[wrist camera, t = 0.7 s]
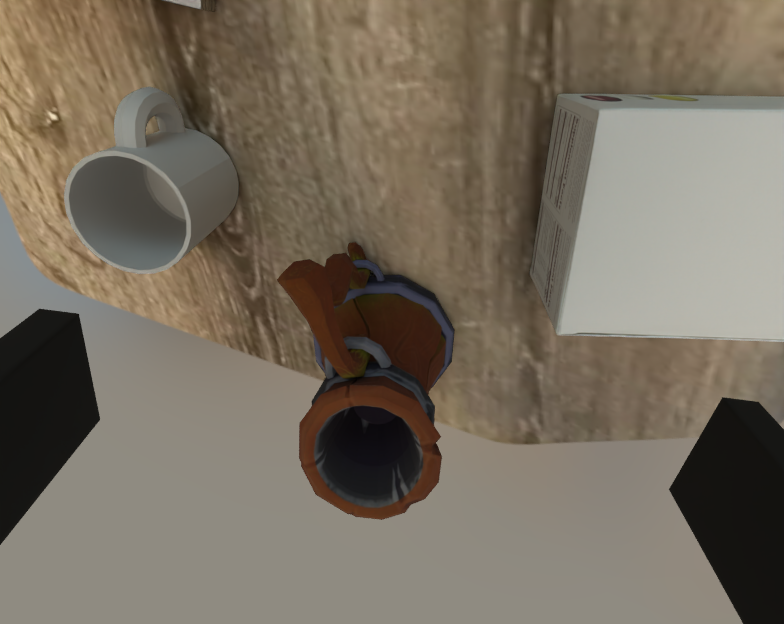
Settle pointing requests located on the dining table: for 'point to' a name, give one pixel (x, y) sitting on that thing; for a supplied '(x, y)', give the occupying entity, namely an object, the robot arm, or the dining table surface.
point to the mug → (370, 384)
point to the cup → (150, 188)
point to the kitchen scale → (196, 4)
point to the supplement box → (664, 217)
